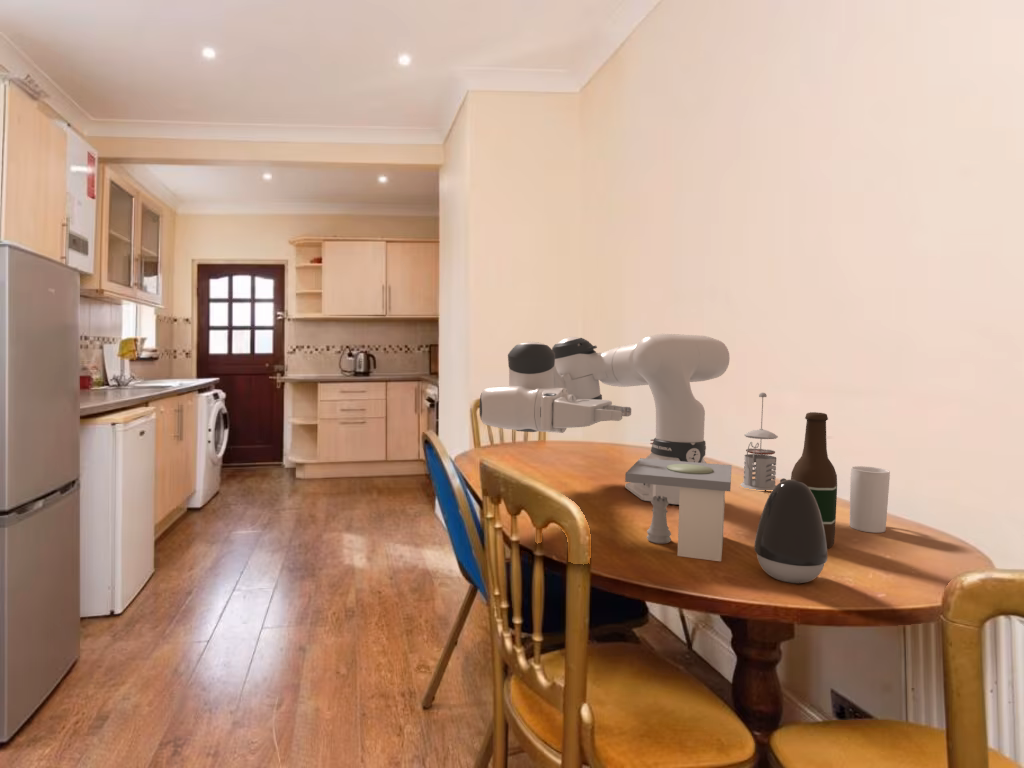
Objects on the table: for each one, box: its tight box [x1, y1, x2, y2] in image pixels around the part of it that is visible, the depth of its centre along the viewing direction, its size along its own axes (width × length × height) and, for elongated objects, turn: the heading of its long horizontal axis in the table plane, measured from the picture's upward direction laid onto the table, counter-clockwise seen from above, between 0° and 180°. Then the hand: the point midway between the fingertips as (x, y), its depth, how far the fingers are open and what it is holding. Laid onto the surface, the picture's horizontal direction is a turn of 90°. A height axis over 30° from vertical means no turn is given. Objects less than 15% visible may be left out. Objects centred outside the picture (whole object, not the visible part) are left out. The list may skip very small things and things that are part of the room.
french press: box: [739, 392, 779, 490], centre depth 158 cm, size 10×12×25 cm
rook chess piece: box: [646, 496, 672, 545], centre depth 111 cm, size 4×4×8 cm
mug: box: [849, 465, 891, 534], centre depth 123 cm, size 10×7×12 cm, turn 150°
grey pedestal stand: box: [624, 457, 733, 562], centre depth 109 cm, size 17×17×14 cm
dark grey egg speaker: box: [753, 478, 828, 584], centre depth 93 cm, size 10×10×15 cm
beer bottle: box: [790, 411, 838, 550], centre depth 111 cm, size 8×8×24 cm
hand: (626, 413), depth 114 cm, fingers open, 8 cm apart
